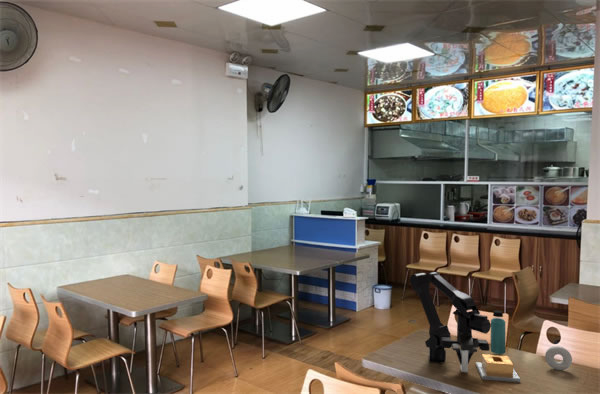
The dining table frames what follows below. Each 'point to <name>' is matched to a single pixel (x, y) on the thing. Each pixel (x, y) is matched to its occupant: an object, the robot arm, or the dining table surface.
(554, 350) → the donut
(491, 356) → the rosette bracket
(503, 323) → the beverage bottle
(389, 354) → the dining table surface
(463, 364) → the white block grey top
